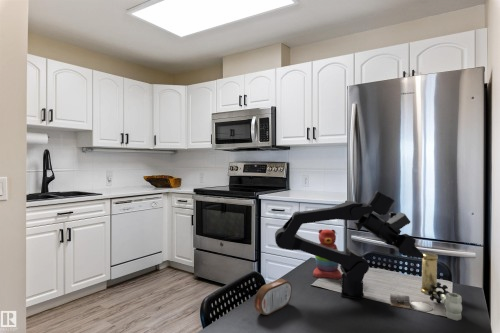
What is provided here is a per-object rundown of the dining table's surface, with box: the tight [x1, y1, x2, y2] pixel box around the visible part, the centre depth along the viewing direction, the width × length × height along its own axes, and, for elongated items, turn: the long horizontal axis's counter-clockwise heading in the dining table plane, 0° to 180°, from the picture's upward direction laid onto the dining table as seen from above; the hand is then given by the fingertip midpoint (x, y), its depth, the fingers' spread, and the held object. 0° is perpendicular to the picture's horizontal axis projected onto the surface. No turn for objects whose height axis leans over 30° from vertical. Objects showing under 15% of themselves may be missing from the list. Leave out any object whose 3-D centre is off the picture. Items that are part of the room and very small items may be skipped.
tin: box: [253, 278, 293, 316], centre depth 96 cm, size 15×3×8 cm, turn 135°
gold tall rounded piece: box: [420, 252, 439, 296], centre depth 108 cm, size 5×5×13 cm
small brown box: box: [389, 293, 411, 309], centre depth 100 cm, size 5×5×3 cm
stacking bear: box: [312, 229, 342, 280], centre depth 126 cm, size 11×10×18 cm
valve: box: [427, 281, 463, 321], centre depth 95 cm, size 7×7×12 cm
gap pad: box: [409, 301, 433, 312], centre depth 98 cm, size 6×6×1 cm
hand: (416, 252), depth 106 cm, fingers open, 9 cm apart
